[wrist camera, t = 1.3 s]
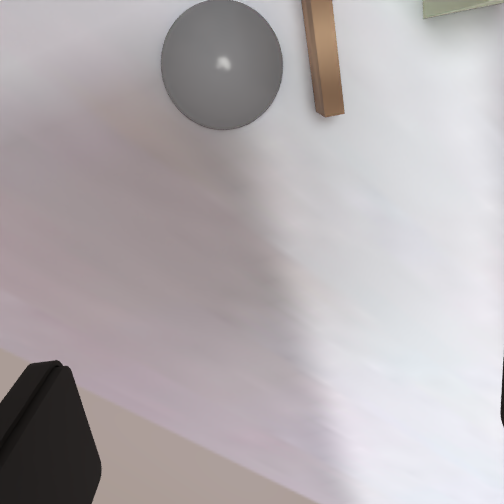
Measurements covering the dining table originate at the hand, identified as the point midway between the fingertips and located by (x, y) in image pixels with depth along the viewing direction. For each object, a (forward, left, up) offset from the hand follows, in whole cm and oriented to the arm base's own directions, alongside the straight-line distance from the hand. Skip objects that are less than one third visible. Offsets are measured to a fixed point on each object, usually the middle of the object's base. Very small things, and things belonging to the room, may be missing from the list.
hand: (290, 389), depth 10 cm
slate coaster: (-7, -1, -26) cm, 27 cm away
